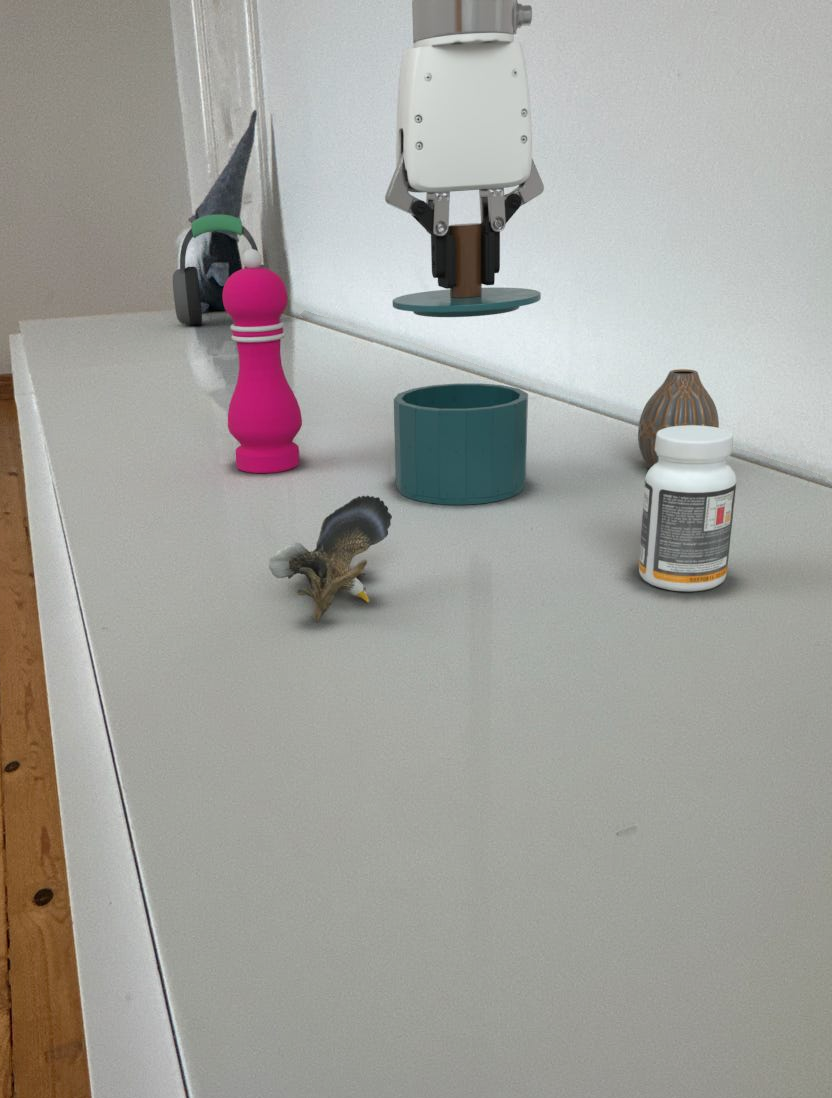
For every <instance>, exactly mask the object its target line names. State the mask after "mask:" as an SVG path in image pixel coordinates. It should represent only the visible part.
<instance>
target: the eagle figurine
mask: <svg viewBox="0 0 832 1098" xmlns="http://www.w3.org/2000/svg"><path fill="white" fill-rule="evenodd" d="M385 504H386V503H385V502H384V501H383V500H381V498H380V496H376V497H375V496H370V495H362V496H356V497H354V498H352V499H351V500H350V501H348V502H347V503H345V504H344V505H343V506H339V508H337V509H336V510H334V512H332V513H330V514H329V515H328V516H326V517H325V518H324V519H323V521H322V523H321V527H320V531H319V536H318V539H317V541H316V547H315V549H314V550H311V551H309V550H308V549H307V548H306V547H305V546H304V545H303V544H302V543H300V542H293V543H292V544H288V545H286V546H284V547H283V548H281V549H279V550H278V551H276V552H274V554H273V555H272V556H271V557H269V560H268V561H269V563H268V569H269V570H270V572H271V574H272V576H274V578H277V579H285V578H288V580H290V579H291V578H293V577H294V576H295V575H297V574H300V575H305V577H306V578H307V579H308V582H309V584H310V587H311V588H304V587H303V588H299V589H297V590H296V594H297V595H299V596H308V597H311V598H312V599H313V605H314V610H313V618H312V619H313V622H314V623H318V622H319V621H320V619H321V618H322V616H324V615H325V612H327V611H328V610H329V606H331V605H332V601H333V599H334V596H335V595H336V593H337V591H338V590H339V591H345V592H348V593H350V594H351V595H353V596H355V597H357V598H360V599H362V600H364V601H365V603H367V604H369V603H370V599H369V597H368V595H367V587H366V586H365V585H364V584H363V583H362V582H361V581H360V580H359V579H358V577H359V576H365V575H366V572H363V571H364V569H365V568H366V567H367V564H368V560H367V559H362V560H361V561H360V562H358V563H357V564H356V565H355V567H352V568H351V563H352V561H353V558H354V557H355V556H357V555H359V554H361V553H364V552H366V551H368V550H369V549H370V547H372V546H373V545H377V544H378V543H381V542H382V541H383V540H385V539H386V538H387V537H388V536H389V528H390V527H391V525H392V524H391V523H392V522H391V520H392V518H393V516H392V514H391V513H390V512H389V507H388V506H387V505H385Z"/></svg>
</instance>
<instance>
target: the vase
mask: <svg viewBox="0 0 832 1098" xmlns="http://www.w3.org/2000/svg"><path fill="white" fill-rule="evenodd" d="M686 425H698V426H710V427H717V428H720V421H719V413H718V410H717V407H716V404H715V401H714V400H713V398H712V396H711V395H710V393H709V392H708V391H707V389H706V388H705V386H704V385H703V383H702V381H701V378H700V375H699V372H698V371H697V370H694V369H686V368H685V369H683V368H682V369H681V368H680V369H672V370H670V371H669V372H668V374H667V376H666V378H665V379H664V381H663V382H662V384H661V385H660V386H659V387H658V388H657V389H656V390H655V392H653V394H652V395H651V397H650V398H649V399H648V400H647V402H646V403H645V405H644V407H643V409H642V411H641V414H640V418H639V421H638V429H637V442H638V448H639V452H640V454H641V457H642V458H643V460H644V462H645V463H646V464H647V465H648V467H649V468H651V467H652V466H653V465H654V464H656V463H657V462H658V459H659V456H657V452H656V451H655V442H656V434H657V432H658V431H659V430H661V429H664V428H667V427H674V426H686Z"/></svg>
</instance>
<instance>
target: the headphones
mask: <svg viewBox="0 0 832 1098" xmlns="http://www.w3.org/2000/svg"><path fill="white" fill-rule="evenodd" d="M190 227H191V228H190V229H189V230H188V231H187V233H186V235H185V237H184V238H183V241H182V244H181V247H180V254H179V268H177V269H176V270H174V271H173V274H172V291H173V302H174V309H175V314H176V319H177V320H178V322H179V323H180V324H182V325H191V326H192V325H193V326H201V325H202V324H203V311H202V300H201V291H200V281H199V273H198V268H197V266H187V267H186V256H187V255H186V254H187V251H188V247H189V244H190V242H191V240H192V239H196V238H197V237H199V236H201V235H203V234H206V233H210V232H217V231H219V232H220V231H221V232H229V233H233V234H236V235H238V236H243V237H244V238H245V239H246V241H247V242H248V243H249V245H250V247H251V249H254V250H257V251H258V252H259V249H258V246H257V244H256V241H255V239H254V237H253V236H252V233H250V232H249V230H248V229H247V228H246V227H245V226H244V225H243V222H242V220H241V218H238V217H236V216H233V215H230V214H222V213H221V214H218V213H217V214H207V215H204V216H201V217H198V218H196V219H194V220H193V221H192V222H191V225H190ZM244 268H246V267H245V266H244ZM244 268H243V269H244ZM260 268H266V269H269V268H268V266H266V265H265V264H261V265H260Z"/></svg>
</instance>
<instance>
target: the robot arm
mask: <svg viewBox="0 0 832 1098" xmlns="http://www.w3.org/2000/svg"><path fill="white" fill-rule="evenodd" d="M411 10H412V11H411V12H412V42H413V44H412V46H413V47H412V48H410V49H407V50H405V51H403V52H402V56H401V61H400V69H399V78H398V89H397V93H398V94H397V103H396V107H397V108H396V137H395V138H396V139H395V170H394V172H393V174H392V177H391V179H390V183H389V185H388V187H387V190H386V193H385V195H384V200H385V203H386V204H388V205H390V206H392V207H393V208H395V209H397V210H400V211H402V212H404V213H406V214H409V215H411V217H413V219H414V220H416V221H417V222H418V224H419V225H420V226H421V227H422V228H423V229H425V231H426V233H427V234H429V235H430V257H431V258H430V259H431V260H430V261H431V274H432V277H433V279H437V285H438V287H440V288H442V289H443V288H444V289H445V290H448V289H450V288H453V287H454V286H456V261H455V237H453V235H450V227H449V223H450V204H451V203H450V201H451V200H450V199H451V193H452V192H465V191H478V194H479V211H480V212H479V213H480V223H481V229H482V285H484V286H494V285H495V281H496V279H495V278H496V275H495V274H499V272H500V271H501V270H500V269H501V232H502V231H504V229H505V228H506V225H507V223H508V222H509V220H511V218H512V217H513V216H514V215H515V214H516V213H517V211H518V210H519V209H520V207H522V206H524V205H526V204H527V203H529V202H530V201H532V200H534V199H536V198H537V197H539V196H540V195H542V193H544V190H545V186H544V183H543V180H542V178H541V175H540V173H539V171H538V168H537V166H536V164H535V162H534V159H533V133H532V130H533V129H532V114H531V101H530V99H531V98H530V90H529V88H530V87H529V82H528V81H529V80H528V73H527V66H526V60H525V55H524V48H523V44H522V42H520V41H514V40H515V39H514V38H515V36H514V35H516V34H517V30H518V29H521V27H529V26H530V25H531V23H532V20H533V8H532V6H531V5H530V4H529V5H528V4H525V5H524V4H522V3H518V0H411ZM512 187H516V188H514V189H513V190H512V191H509V192H508V193H506V194H505V188H512ZM410 193H426V195H425V196H426V197H425V199H426V200H425V201H424V200H422V199H420V198H417V197H416V196H414V195H412V194H410Z"/></svg>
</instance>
